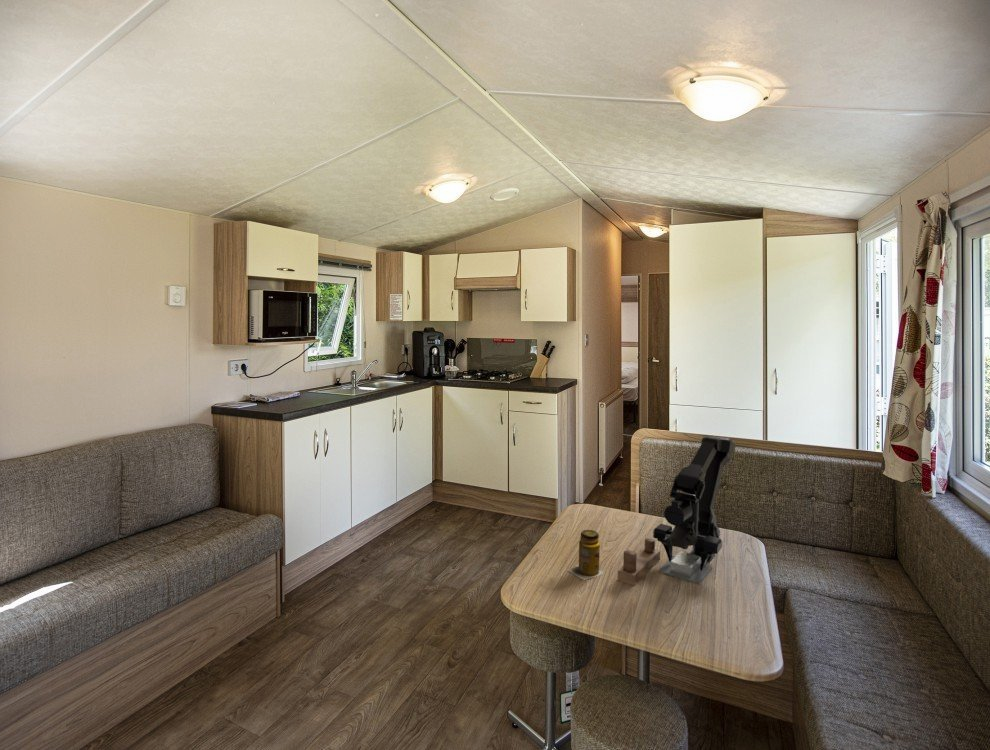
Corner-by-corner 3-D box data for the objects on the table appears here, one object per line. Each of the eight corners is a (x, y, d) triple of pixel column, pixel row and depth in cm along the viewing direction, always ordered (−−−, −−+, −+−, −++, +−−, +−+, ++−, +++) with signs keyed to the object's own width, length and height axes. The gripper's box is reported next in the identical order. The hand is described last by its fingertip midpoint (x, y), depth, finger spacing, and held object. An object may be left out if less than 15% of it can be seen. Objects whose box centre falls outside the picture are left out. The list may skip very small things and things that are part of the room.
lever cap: (680, 560, 164) (680, 551, 164) (700, 565, 160) (700, 556, 160) (670, 571, 157) (670, 561, 156) (690, 577, 153) (691, 567, 153)
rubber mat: (672, 557, 167) (672, 555, 167) (712, 568, 160) (712, 567, 160) (658, 572, 158) (658, 570, 157) (699, 584, 150) (699, 582, 150)
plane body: (644, 555, 168) (645, 531, 167) (660, 559, 165) (660, 535, 164) (617, 580, 153) (618, 553, 152) (634, 585, 150) (634, 558, 149)
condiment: (605, 573, 157) (606, 534, 156) (584, 581, 152) (585, 541, 151) (588, 563, 163) (589, 526, 162) (567, 570, 158) (567, 532, 157)
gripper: (646, 516, 156) (645, 566, 158) (713, 532, 145) (710, 586, 146) (660, 505, 165) (658, 553, 167) (724, 519, 153) (721, 570, 155)
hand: (685, 565), depth 158 cm, fingers open, 9 cm apart
